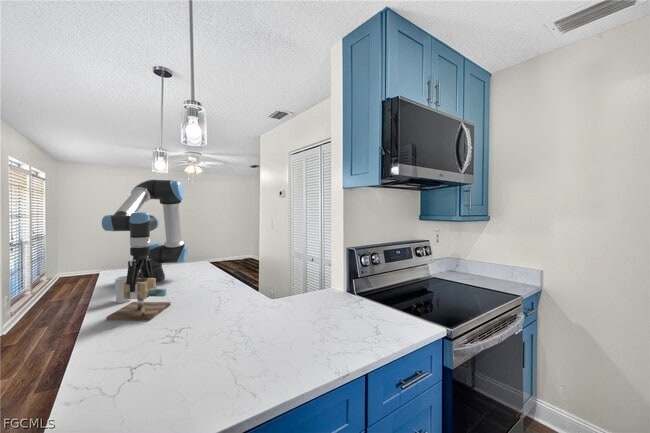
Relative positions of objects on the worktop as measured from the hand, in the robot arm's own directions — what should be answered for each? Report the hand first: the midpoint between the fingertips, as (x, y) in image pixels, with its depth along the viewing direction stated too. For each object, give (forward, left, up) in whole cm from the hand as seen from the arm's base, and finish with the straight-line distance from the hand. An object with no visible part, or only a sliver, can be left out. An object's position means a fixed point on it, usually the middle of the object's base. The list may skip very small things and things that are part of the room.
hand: (140, 295), depth 130 cm
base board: (0, 0, -8) cm, 8 cm away
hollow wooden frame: (0, +3, 0) cm, 3 cm away
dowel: (+7, +5, -6) cm, 11 cm away
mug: (-15, -18, -8) cm, 25 cm away
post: (0, 0, -6) cm, 6 cm away
